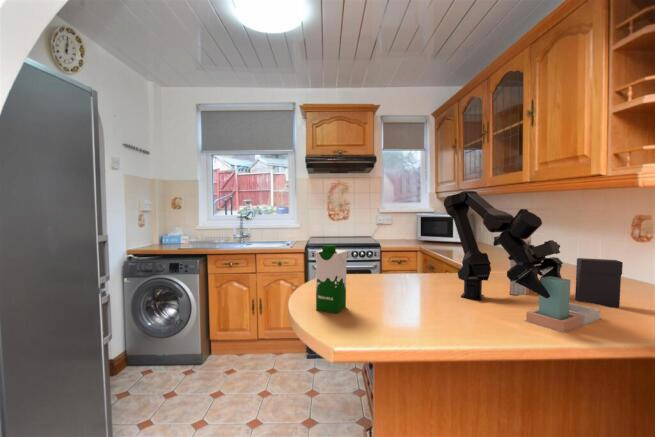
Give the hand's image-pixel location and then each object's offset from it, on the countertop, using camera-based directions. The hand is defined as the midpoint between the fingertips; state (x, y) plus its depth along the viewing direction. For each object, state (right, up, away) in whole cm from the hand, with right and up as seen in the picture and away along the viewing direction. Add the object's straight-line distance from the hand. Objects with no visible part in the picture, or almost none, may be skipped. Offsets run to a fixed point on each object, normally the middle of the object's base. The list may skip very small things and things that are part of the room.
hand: (557, 295), depth 85 cm
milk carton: (-60, -8, +15) cm, 62 cm away
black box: (+28, -8, +21) cm, 36 cm away
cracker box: (+11, -8, +36) cm, 38 cm away
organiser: (+4, -9, +4) cm, 10 cm away
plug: (0, -8, +1) cm, 8 cm away
